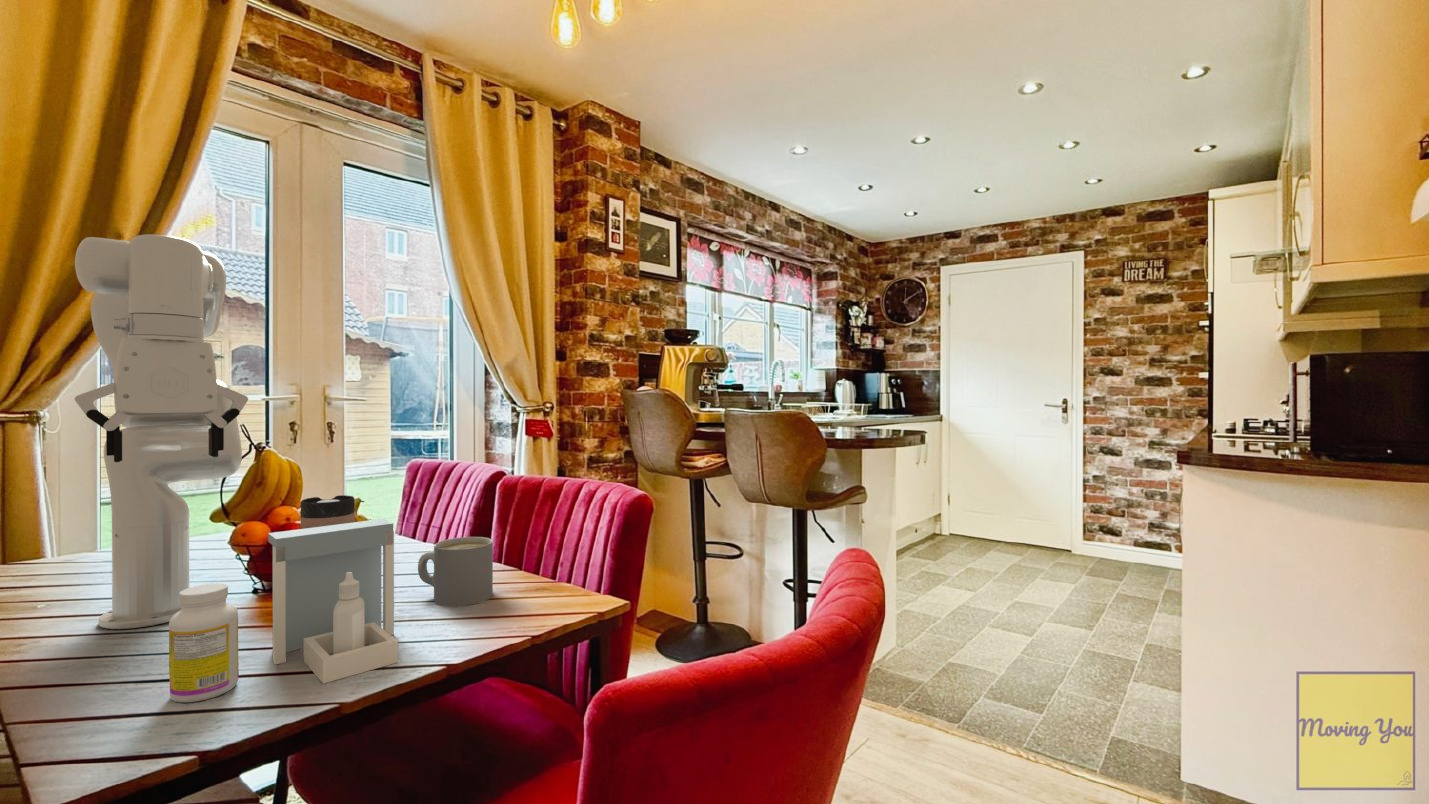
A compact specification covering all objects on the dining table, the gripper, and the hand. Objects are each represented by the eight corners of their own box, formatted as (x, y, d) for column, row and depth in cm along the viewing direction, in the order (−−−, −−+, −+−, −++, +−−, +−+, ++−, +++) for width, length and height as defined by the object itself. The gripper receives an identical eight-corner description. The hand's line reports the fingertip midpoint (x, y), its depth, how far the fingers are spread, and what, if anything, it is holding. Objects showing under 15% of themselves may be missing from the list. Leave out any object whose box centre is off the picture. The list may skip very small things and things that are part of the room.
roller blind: (267, 653, 88) (267, 533, 88) (383, 625, 99) (383, 518, 99) (275, 664, 85) (274, 539, 85) (394, 634, 96) (393, 523, 96)
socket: (303, 660, 86) (303, 638, 86) (374, 642, 93) (374, 622, 93) (322, 683, 79) (322, 660, 79) (397, 662, 86) (397, 640, 86)
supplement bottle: (196, 680, 80) (196, 581, 80) (250, 678, 81) (250, 580, 81) (154, 706, 73) (153, 597, 73) (213, 704, 74) (213, 596, 74)
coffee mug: (503, 591, 117) (503, 538, 117) (468, 609, 107) (468, 551, 107) (444, 585, 121) (444, 534, 121) (405, 601, 111) (405, 545, 111)
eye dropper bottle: (378, 652, 88) (378, 568, 88) (345, 669, 83) (345, 579, 83) (352, 649, 89) (352, 566, 89) (318, 665, 84) (318, 577, 84)
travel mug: (329, 631, 97) (329, 503, 96) (287, 627, 98) (287, 501, 98) (366, 614, 104) (366, 496, 104) (327, 611, 106) (327, 494, 105)
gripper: (74, 323, 74) (74, 466, 74) (252, 333, 86) (252, 456, 87) (74, 327, 79) (75, 461, 80) (242, 337, 92) (242, 452, 92)
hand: (167, 458), depth 83 cm, fingers open, 9 cm apart
